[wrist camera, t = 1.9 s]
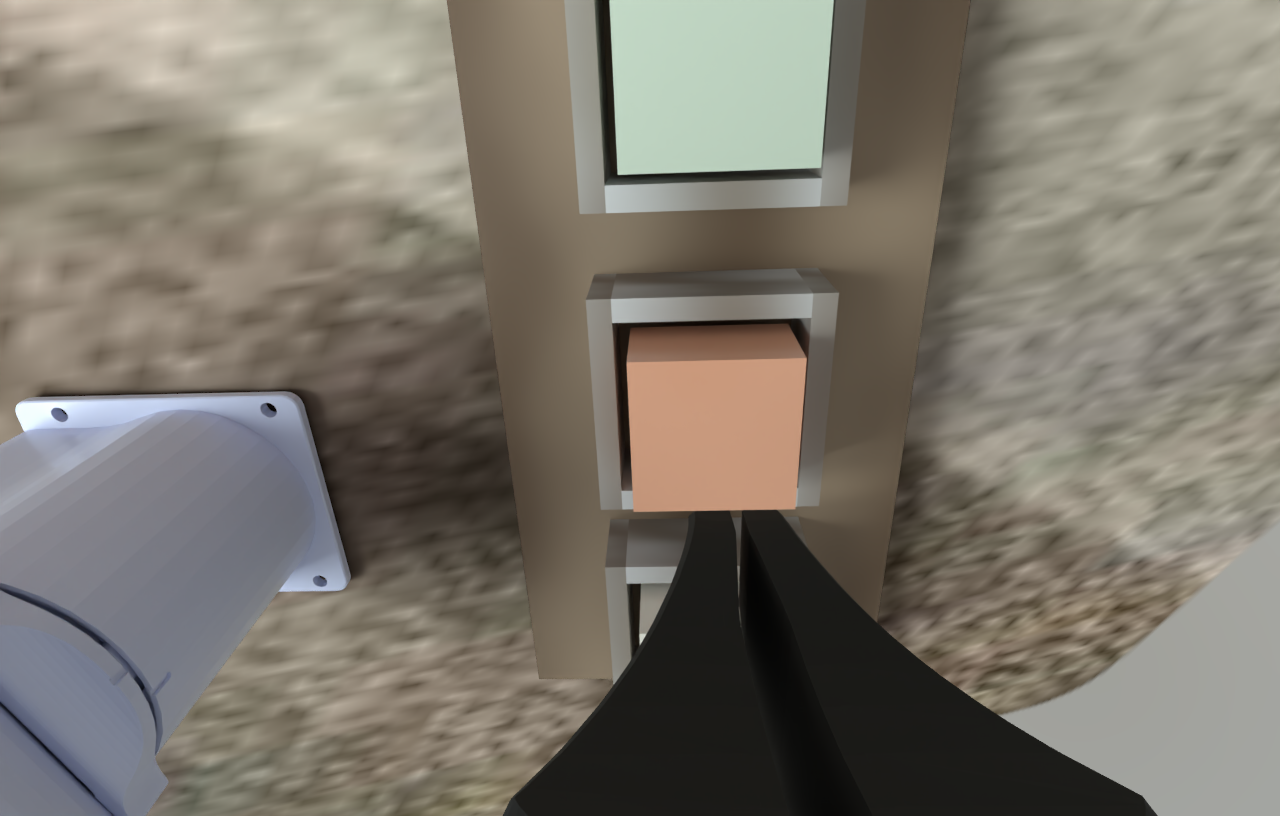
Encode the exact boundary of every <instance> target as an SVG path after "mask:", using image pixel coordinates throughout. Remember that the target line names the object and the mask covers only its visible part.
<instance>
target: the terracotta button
mask: <svg viewBox="0 0 1280 816" xmlns="http://www.w3.org/2000/svg"><path fill="white" fill-rule="evenodd" d="M806 361H807V358H806V356H805V354H804V352H803V350H802V349H801V347H800V345H799V343H798V341H797V339H796V337H795V336H794V334H793V332H792V330H791V328H790V326H789V325H788V324H752V325H714V326H676V327H638V328H630V336H629V345H628V354H627V382H628V404H629V425H630V446H631V467H632V489H633V510H634V512H659V511H718V510H782V509H795V507H796V494H797V480H798V467H799V454H800V441H801V427H802V414H803V401H804V388H805V374H806Z"/></svg>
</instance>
